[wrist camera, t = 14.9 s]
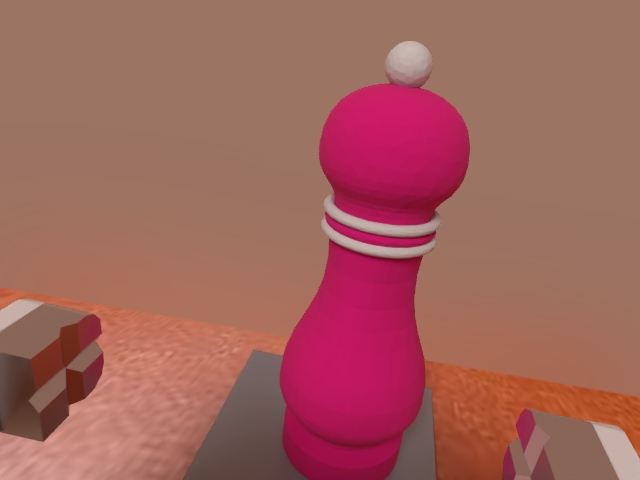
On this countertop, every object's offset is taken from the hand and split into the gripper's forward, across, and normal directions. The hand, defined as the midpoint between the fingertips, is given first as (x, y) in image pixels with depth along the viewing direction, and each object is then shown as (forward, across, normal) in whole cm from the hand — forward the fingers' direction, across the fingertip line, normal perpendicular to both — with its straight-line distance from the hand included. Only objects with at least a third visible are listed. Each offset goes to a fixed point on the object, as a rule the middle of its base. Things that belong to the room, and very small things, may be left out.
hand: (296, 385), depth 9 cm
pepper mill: (+12, +1, -14) cm, 18 cm away
